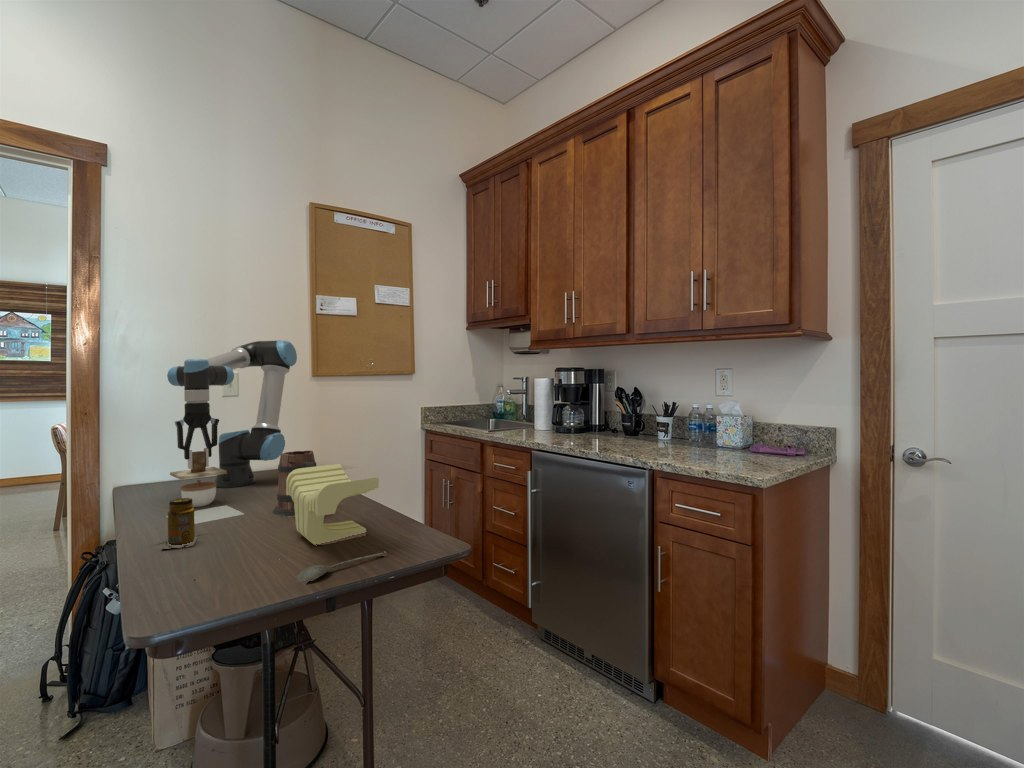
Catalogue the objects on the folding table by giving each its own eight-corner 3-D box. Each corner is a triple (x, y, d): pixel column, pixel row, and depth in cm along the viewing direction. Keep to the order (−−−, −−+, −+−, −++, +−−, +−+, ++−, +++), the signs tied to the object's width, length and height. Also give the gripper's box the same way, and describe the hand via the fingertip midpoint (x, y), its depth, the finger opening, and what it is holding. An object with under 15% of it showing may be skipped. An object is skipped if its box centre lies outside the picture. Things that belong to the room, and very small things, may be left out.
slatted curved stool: (287, 530, 144) (285, 470, 144) (341, 519, 154) (339, 463, 154) (318, 557, 120) (317, 486, 120) (379, 543, 130) (378, 477, 130)
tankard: (263, 511, 166) (262, 452, 166) (313, 502, 177) (312, 447, 177) (288, 525, 149) (286, 460, 149) (341, 514, 160) (340, 453, 160)
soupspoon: (289, 583, 108) (300, 593, 103) (288, 568, 108) (299, 578, 103) (379, 554, 123) (392, 561, 118) (378, 541, 123) (392, 548, 118)
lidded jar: (204, 510, 168) (203, 483, 168) (173, 510, 169) (173, 483, 169) (223, 502, 179) (222, 477, 179) (194, 502, 179) (194, 477, 179)
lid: (214, 469, 184) (213, 448, 184) (226, 473, 174) (226, 451, 174) (170, 475, 173) (169, 452, 173) (180, 479, 164) (180, 456, 164)
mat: (226, 506, 172) (226, 505, 172) (244, 515, 160) (244, 514, 160) (165, 518, 159) (165, 516, 159) (180, 528, 147) (180, 526, 147)
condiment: (198, 538, 138) (197, 495, 138) (193, 547, 130) (193, 502, 130) (167, 542, 135) (166, 498, 135) (160, 551, 127) (159, 505, 127)
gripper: (220, 401, 183) (222, 463, 183) (165, 403, 170) (166, 469, 170) (227, 401, 178) (228, 465, 178) (170, 403, 165) (172, 472, 165)
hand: (198, 467), depth 174 cm, fingers closed on lid, 4 cm apart
